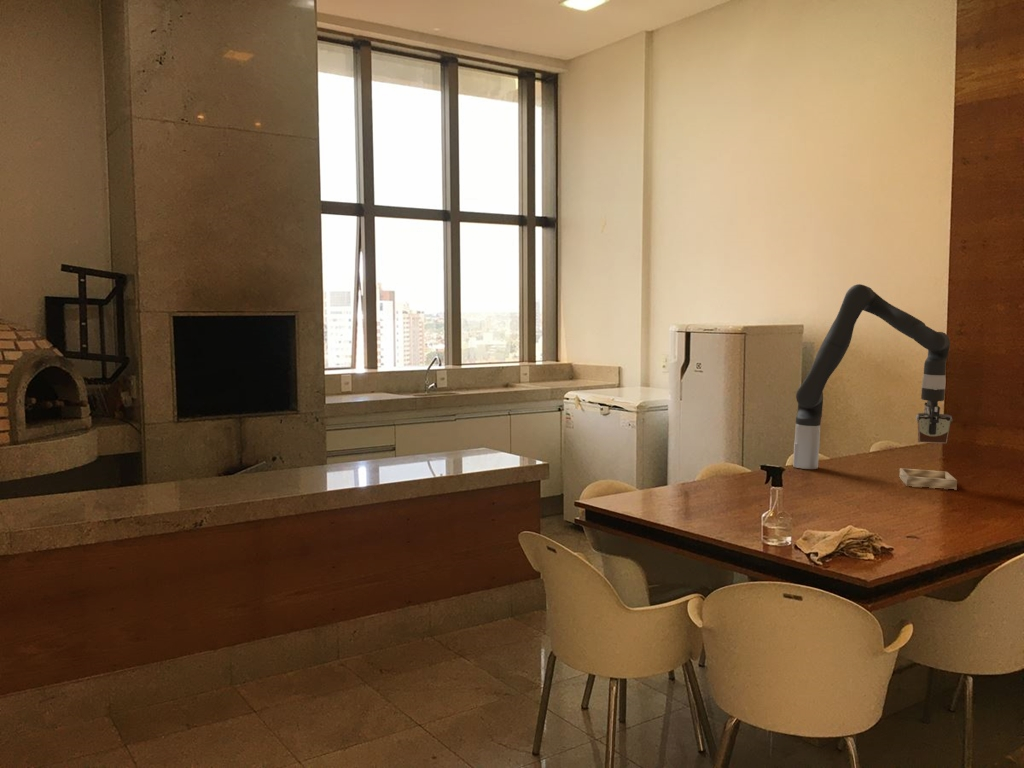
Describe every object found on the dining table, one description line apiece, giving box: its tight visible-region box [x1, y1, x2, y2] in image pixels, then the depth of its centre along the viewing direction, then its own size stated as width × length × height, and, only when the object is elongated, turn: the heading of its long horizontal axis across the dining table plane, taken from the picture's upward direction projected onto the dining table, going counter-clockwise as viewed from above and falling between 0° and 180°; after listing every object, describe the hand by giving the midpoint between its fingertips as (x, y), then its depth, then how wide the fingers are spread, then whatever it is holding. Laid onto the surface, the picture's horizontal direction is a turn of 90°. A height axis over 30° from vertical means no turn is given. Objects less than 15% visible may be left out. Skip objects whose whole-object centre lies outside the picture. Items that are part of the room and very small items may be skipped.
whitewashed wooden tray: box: [899, 467, 958, 491], centre depth 295 cm, size 16×16×4 cm
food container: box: [915, 412, 953, 444], centre depth 294 cm, size 12×6×10 cm, turn 84°
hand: (930, 432), depth 294 cm, fingers closed on food container, 6 cm apart
